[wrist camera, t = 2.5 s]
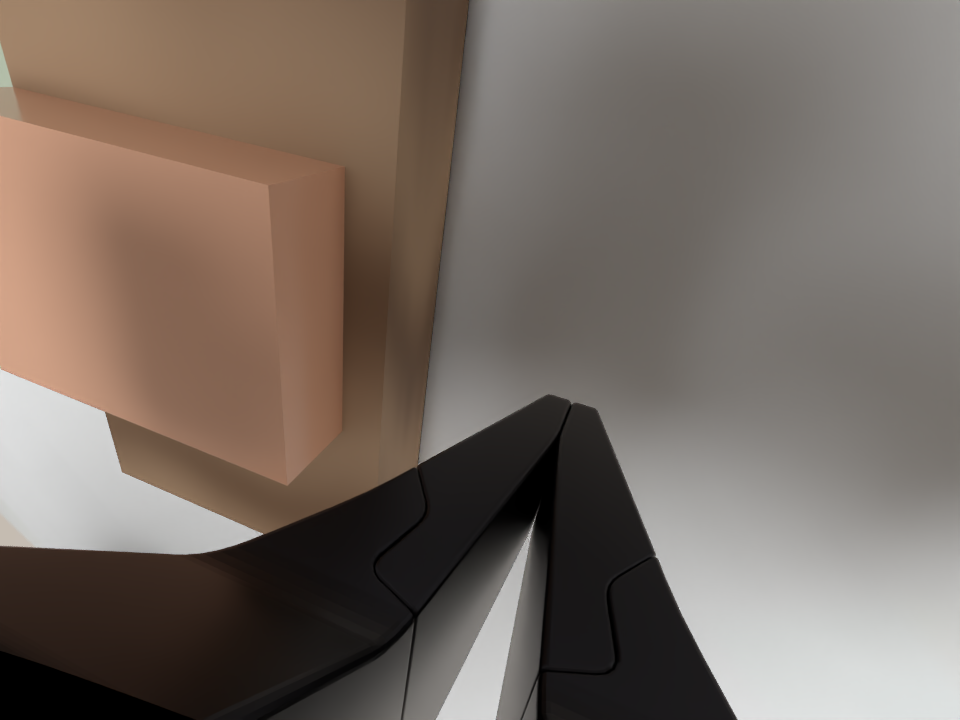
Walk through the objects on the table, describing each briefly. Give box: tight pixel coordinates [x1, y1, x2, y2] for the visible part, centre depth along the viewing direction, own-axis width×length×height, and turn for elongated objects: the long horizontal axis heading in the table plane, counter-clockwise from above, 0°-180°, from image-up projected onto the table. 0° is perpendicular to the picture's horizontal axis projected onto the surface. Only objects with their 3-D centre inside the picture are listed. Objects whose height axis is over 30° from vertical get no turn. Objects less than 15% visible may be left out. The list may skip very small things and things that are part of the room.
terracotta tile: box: [0, 87, 345, 486], centre depth 11 cm, size 6×8×2 cm
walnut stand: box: [0, 0, 469, 534], centre depth 12 cm, size 16×9×2 cm, turn 171°
